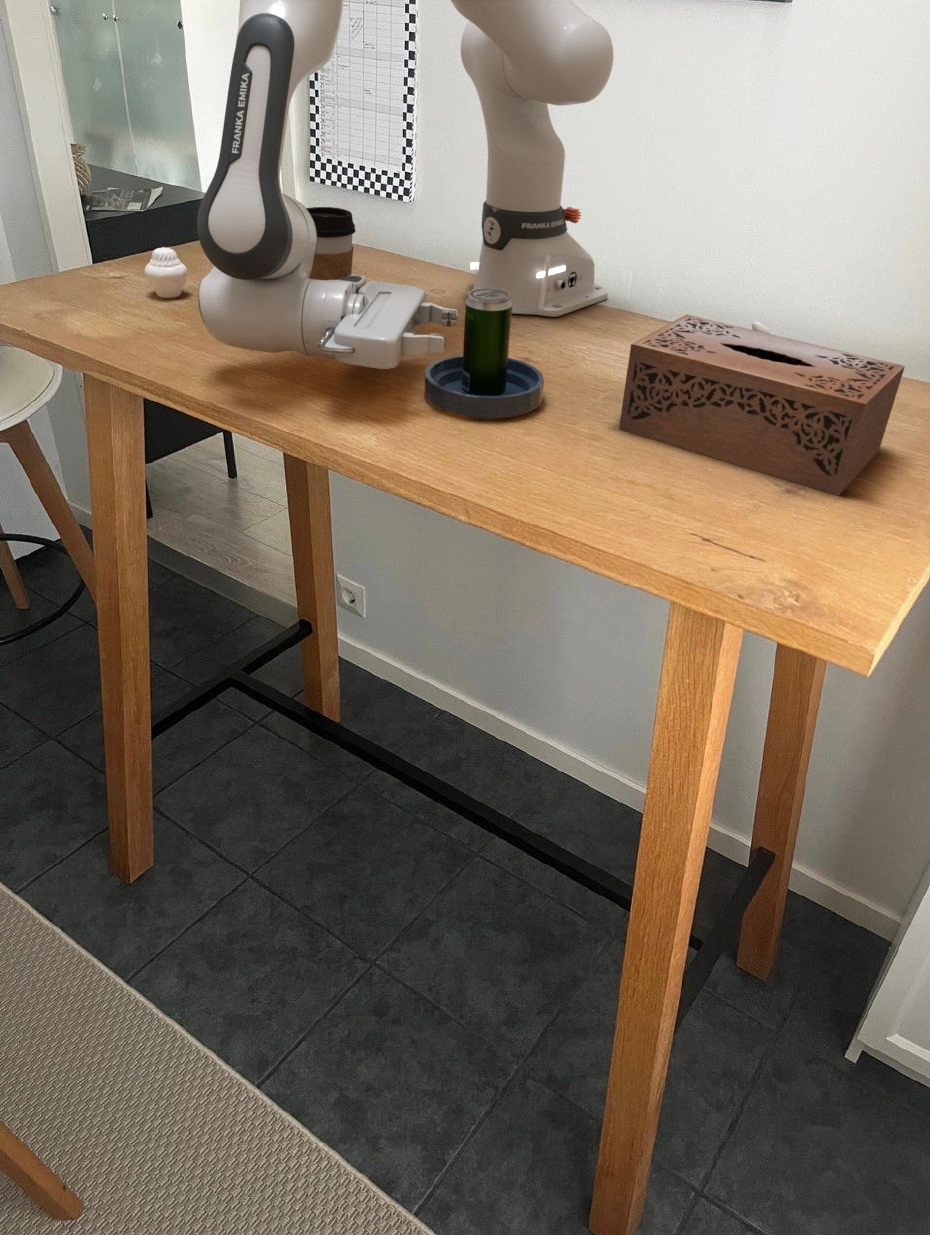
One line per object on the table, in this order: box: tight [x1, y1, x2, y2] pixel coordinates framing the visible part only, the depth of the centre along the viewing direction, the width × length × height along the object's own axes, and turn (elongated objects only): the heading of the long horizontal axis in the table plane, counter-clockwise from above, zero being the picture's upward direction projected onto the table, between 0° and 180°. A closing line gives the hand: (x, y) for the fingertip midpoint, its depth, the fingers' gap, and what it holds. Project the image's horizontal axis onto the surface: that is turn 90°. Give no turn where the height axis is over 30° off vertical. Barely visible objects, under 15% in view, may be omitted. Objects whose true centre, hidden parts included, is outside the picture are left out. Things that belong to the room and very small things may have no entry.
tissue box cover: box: [618, 314, 906, 496], centre depth 110 cm, size 26×14×10 cm, turn 55°
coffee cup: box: [305, 206, 356, 280], centre depth 137 cm, size 8×8×15 cm
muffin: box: [144, 246, 188, 299], centre depth 146 cm, size 6×6×7 cm
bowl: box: [424, 354, 545, 420], centre depth 119 cm, size 14×14×3 cm
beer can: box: [461, 289, 513, 396], centre depth 116 cm, size 5×5×12 cm
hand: (451, 330), depth 115 cm, fingers open, 8 cm apart
